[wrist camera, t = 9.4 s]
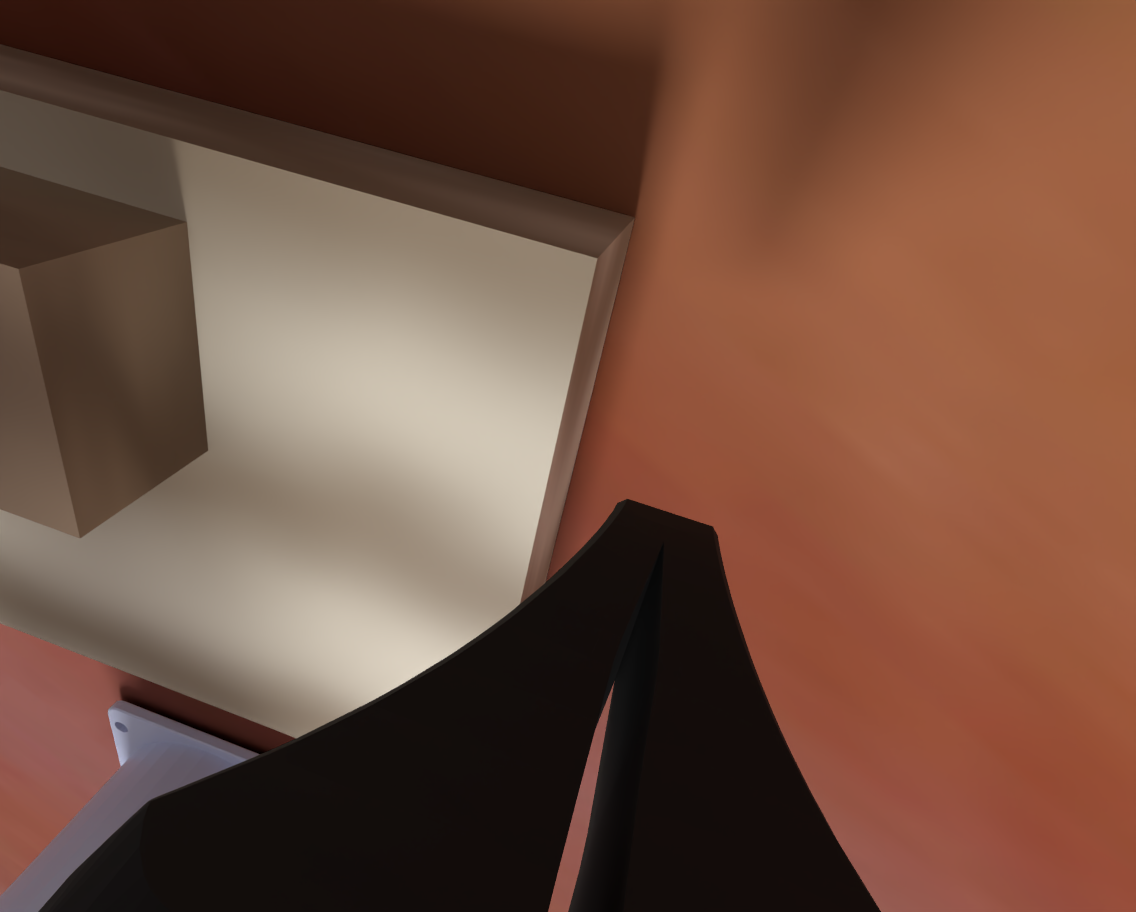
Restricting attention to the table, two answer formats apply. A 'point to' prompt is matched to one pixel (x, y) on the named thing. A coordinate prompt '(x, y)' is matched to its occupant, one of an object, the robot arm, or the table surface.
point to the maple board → (320, 402)
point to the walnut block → (92, 354)
